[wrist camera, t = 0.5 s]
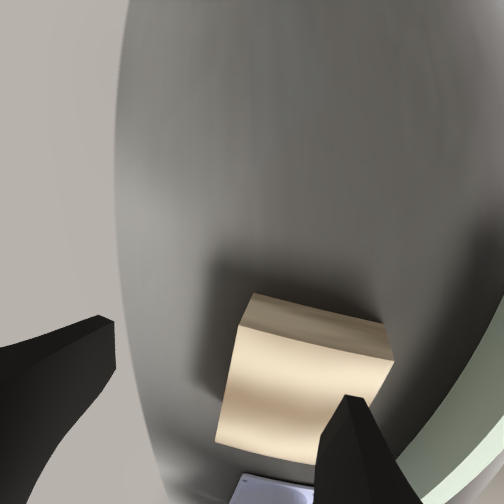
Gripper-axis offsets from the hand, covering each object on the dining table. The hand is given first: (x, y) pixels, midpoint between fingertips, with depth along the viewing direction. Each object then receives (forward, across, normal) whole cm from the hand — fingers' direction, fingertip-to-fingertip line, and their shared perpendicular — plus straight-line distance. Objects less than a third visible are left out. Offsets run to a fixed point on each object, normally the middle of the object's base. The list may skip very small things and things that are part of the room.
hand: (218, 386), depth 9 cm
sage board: (+10, -17, +6) cm, 20 cm away
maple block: (+10, -4, +7) cm, 13 cm away
